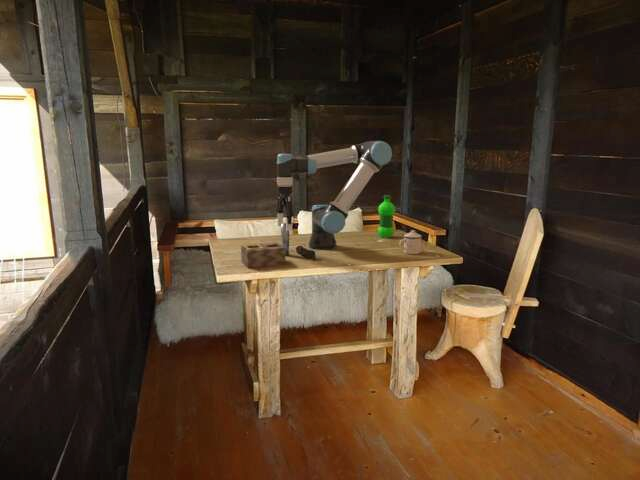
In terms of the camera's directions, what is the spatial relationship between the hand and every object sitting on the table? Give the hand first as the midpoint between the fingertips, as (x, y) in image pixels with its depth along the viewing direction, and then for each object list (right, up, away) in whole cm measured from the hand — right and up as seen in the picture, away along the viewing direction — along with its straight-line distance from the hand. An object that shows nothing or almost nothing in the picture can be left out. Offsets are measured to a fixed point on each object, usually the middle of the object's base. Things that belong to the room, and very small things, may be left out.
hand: (284, 228), depth 239 cm
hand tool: (+12, -14, 0) cm, 19 cm away
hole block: (-9, -17, -14) cm, 23 cm away
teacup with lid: (+64, -13, +10) cm, 66 cm away
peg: (0, -13, +3) cm, 14 cm away
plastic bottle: (+57, -4, +50) cm, 76 cm away
